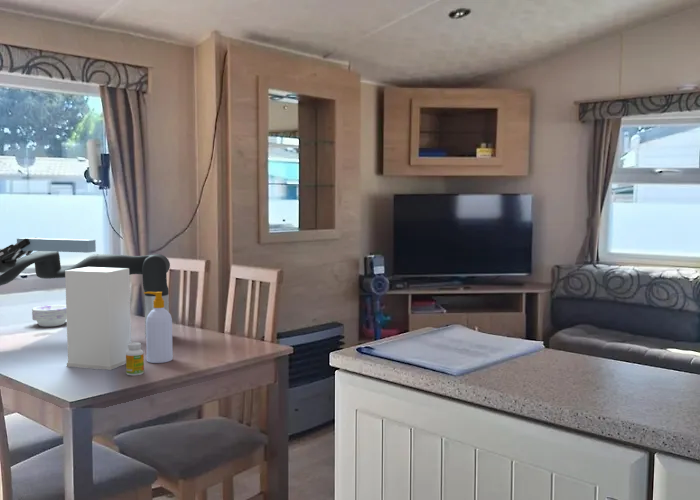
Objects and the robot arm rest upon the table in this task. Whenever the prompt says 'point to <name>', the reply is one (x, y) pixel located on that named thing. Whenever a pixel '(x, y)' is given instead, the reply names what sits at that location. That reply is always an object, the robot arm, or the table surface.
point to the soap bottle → (159, 332)
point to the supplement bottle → (134, 359)
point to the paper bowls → (50, 315)
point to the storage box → (97, 317)
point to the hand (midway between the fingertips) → (33, 240)
